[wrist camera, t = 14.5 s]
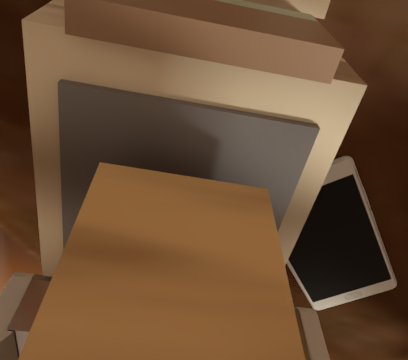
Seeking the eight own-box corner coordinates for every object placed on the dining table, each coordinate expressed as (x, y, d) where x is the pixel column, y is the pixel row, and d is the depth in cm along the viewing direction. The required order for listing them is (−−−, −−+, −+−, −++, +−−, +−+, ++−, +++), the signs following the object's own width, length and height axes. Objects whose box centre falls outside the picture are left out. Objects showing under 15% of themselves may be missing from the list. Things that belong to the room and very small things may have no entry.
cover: (225, 274, 22) (228, 340, 18) (92, 257, 21) (71, 322, 18) (311, 14, 14) (344, 49, 10) (99, -30, 13) (63, -7, 10)
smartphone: (314, 312, 35) (246, 197, 27) (313, 306, 35) (245, 191, 28) (399, 288, 33) (352, 155, 25) (396, 282, 33) (349, 149, 25)
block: (230, 293, 14) (242, 492, 10) (95, 276, 14) (35, 478, 9) (268, 188, 12) (313, 396, 7) (100, 162, 11) (15, 366, 6)
